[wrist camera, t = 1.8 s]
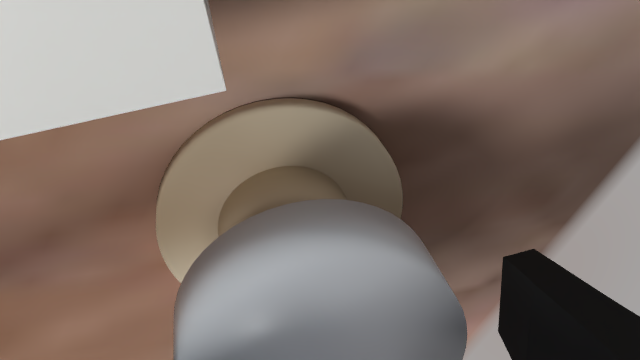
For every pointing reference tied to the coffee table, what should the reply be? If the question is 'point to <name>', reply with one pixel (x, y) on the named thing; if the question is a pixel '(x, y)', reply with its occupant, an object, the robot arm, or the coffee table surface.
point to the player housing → (101, 59)
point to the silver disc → (318, 290)
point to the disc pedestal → (267, 171)
